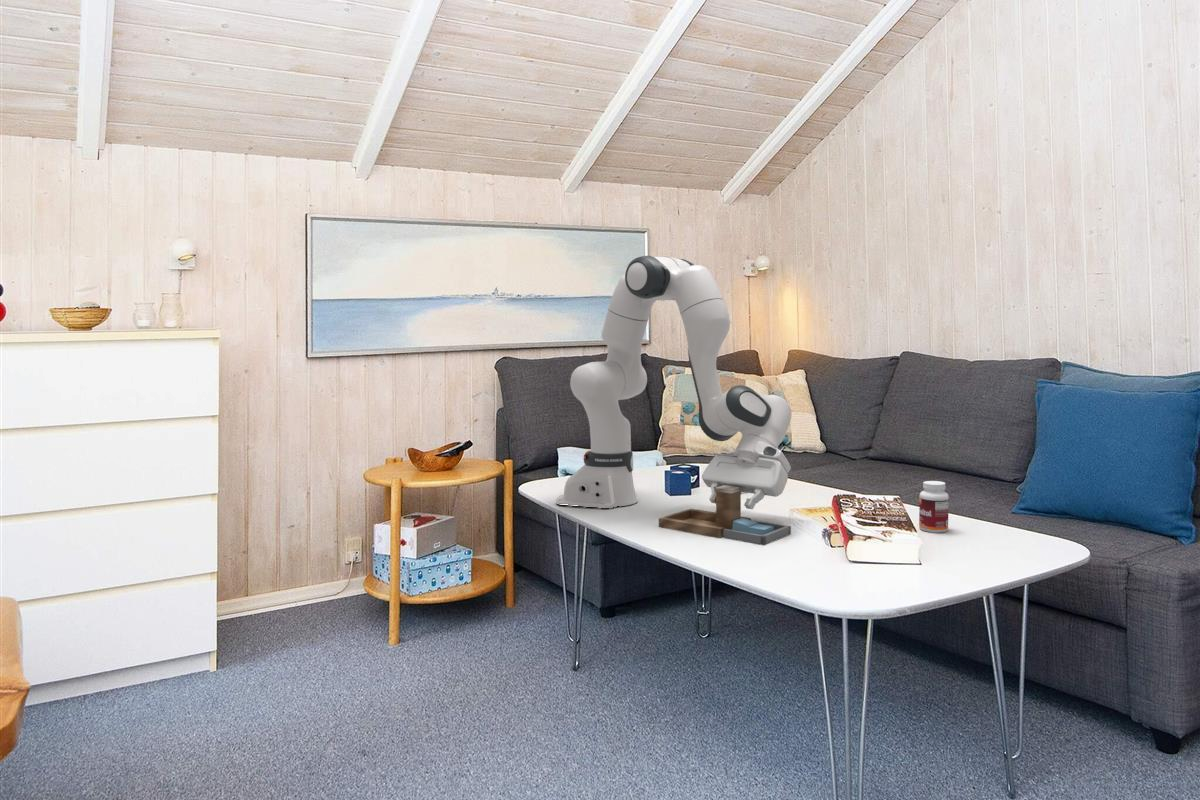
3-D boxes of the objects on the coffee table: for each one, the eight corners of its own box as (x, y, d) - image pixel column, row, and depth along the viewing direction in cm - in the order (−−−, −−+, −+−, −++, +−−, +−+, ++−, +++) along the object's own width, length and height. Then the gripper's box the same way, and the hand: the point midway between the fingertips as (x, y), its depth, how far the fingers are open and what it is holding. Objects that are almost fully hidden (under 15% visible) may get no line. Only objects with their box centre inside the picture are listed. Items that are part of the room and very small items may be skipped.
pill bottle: (913, 527, 184) (914, 480, 183) (937, 526, 185) (938, 479, 184) (929, 534, 178) (929, 485, 177) (954, 532, 179) (954, 484, 178)
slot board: (658, 531, 185) (658, 518, 185) (691, 521, 195) (690, 508, 194) (720, 543, 174) (720, 529, 173) (751, 531, 183) (751, 518, 183)
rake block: (715, 531, 179) (715, 487, 179) (725, 527, 183) (725, 484, 182) (731, 534, 177) (731, 489, 176) (741, 530, 180) (741, 486, 179)
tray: (723, 542, 174) (723, 529, 174) (751, 532, 183) (751, 519, 182) (763, 550, 167) (763, 536, 167) (790, 539, 176) (790, 526, 176)
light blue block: (748, 540, 174) (748, 527, 174) (757, 536, 177) (757, 523, 177) (764, 543, 171) (764, 529, 171) (773, 539, 174) (773, 526, 174)
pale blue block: (731, 534, 177) (732, 521, 176) (740, 530, 180) (742, 517, 179) (747, 538, 174) (748, 525, 174) (756, 535, 177) (757, 522, 177)
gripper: (711, 444, 190) (687, 490, 183) (787, 451, 176) (763, 502, 169) (722, 460, 193) (698, 506, 187) (797, 468, 179) (774, 519, 173)
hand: (730, 504), depth 178 cm, fingers open, 8 cm apart
